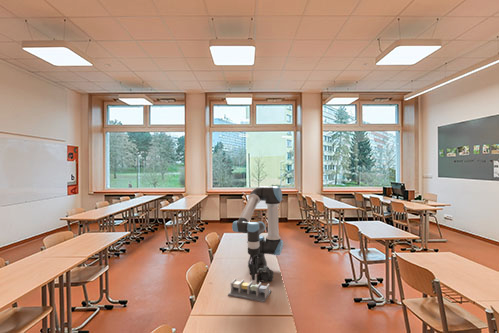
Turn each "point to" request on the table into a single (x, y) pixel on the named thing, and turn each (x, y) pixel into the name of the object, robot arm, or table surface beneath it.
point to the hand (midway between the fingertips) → (254, 284)
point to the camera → (264, 274)
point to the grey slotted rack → (249, 292)
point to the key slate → (262, 288)
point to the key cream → (236, 284)
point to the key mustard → (244, 285)
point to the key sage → (253, 287)
